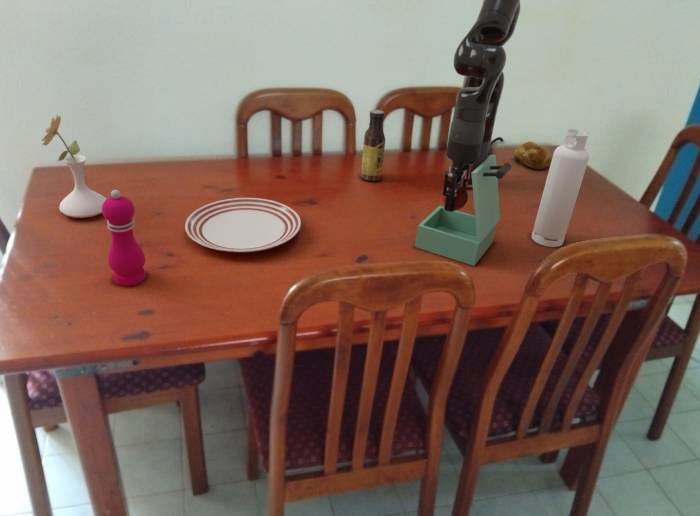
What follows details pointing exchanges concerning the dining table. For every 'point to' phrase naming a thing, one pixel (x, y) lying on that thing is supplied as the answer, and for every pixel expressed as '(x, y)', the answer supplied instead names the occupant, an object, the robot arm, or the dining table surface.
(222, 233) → the dinner plate
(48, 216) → the dining table surface
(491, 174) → the box lid
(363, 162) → the sauce bottle
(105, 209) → the pepper mill
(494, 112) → the robot arm
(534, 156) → the bread roll
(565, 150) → the bottle
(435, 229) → the teal open box
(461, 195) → the onion
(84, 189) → the flower in vase
